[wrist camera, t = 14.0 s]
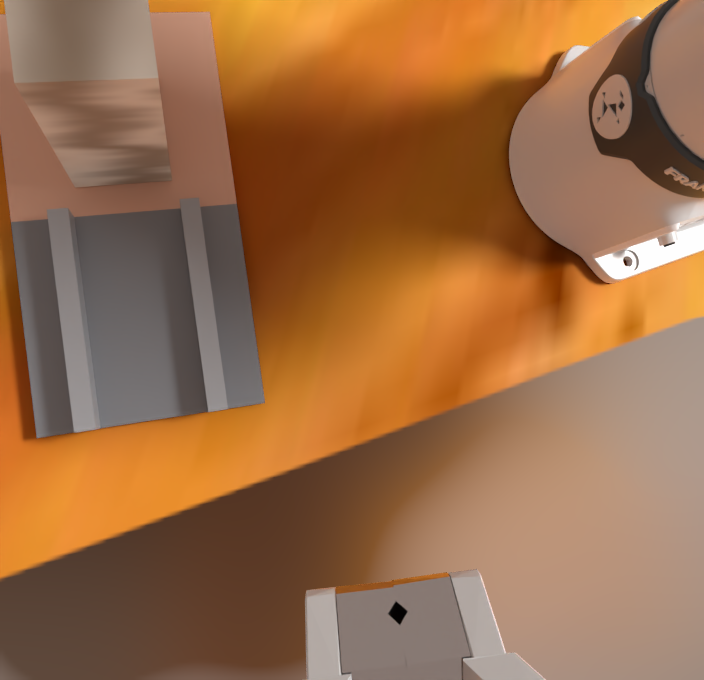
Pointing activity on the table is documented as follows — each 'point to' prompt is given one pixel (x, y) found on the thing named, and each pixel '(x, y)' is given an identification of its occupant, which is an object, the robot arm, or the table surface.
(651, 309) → the table surface
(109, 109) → the block
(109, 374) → the chute
